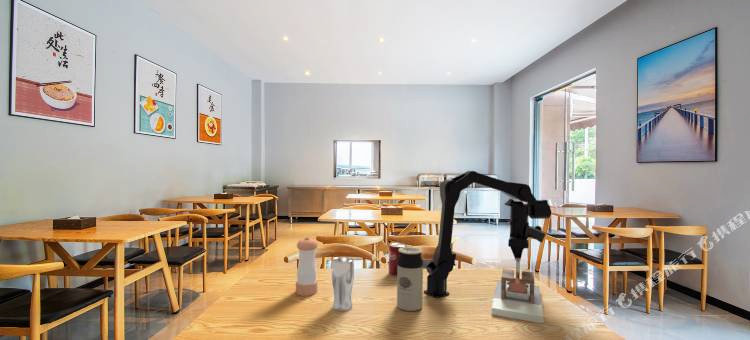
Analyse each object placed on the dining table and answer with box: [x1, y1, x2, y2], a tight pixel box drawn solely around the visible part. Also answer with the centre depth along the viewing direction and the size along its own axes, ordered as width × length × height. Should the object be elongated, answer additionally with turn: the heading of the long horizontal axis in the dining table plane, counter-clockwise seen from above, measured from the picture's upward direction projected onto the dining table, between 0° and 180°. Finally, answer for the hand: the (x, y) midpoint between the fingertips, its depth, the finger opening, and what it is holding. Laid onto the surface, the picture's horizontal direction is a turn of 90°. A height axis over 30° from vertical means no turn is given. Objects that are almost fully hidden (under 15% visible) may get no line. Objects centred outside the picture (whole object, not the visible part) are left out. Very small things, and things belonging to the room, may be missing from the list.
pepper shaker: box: [295, 236, 318, 297], centre depth 118 cm, size 7×7×19 cm
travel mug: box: [396, 246, 424, 312], centre depth 107 cm, size 8×8×18 cm
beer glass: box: [331, 256, 355, 312], centre depth 106 cm, size 7×7×15 cm
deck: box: [491, 280, 545, 324], centre depth 112 cm, size 27×14×2 cm, turn 157°
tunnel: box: [500, 268, 535, 304], centre depth 112 cm, size 10×10×7 cm
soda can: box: [388, 242, 408, 277], centre depth 139 cm, size 7×7×12 cm
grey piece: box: [506, 258, 529, 301], centre depth 112 cm, size 8×7×11 cm
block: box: [508, 277, 526, 293], centre depth 112 cm, size 5×5×5 cm
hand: (518, 262), depth 121 cm, fingers closed
